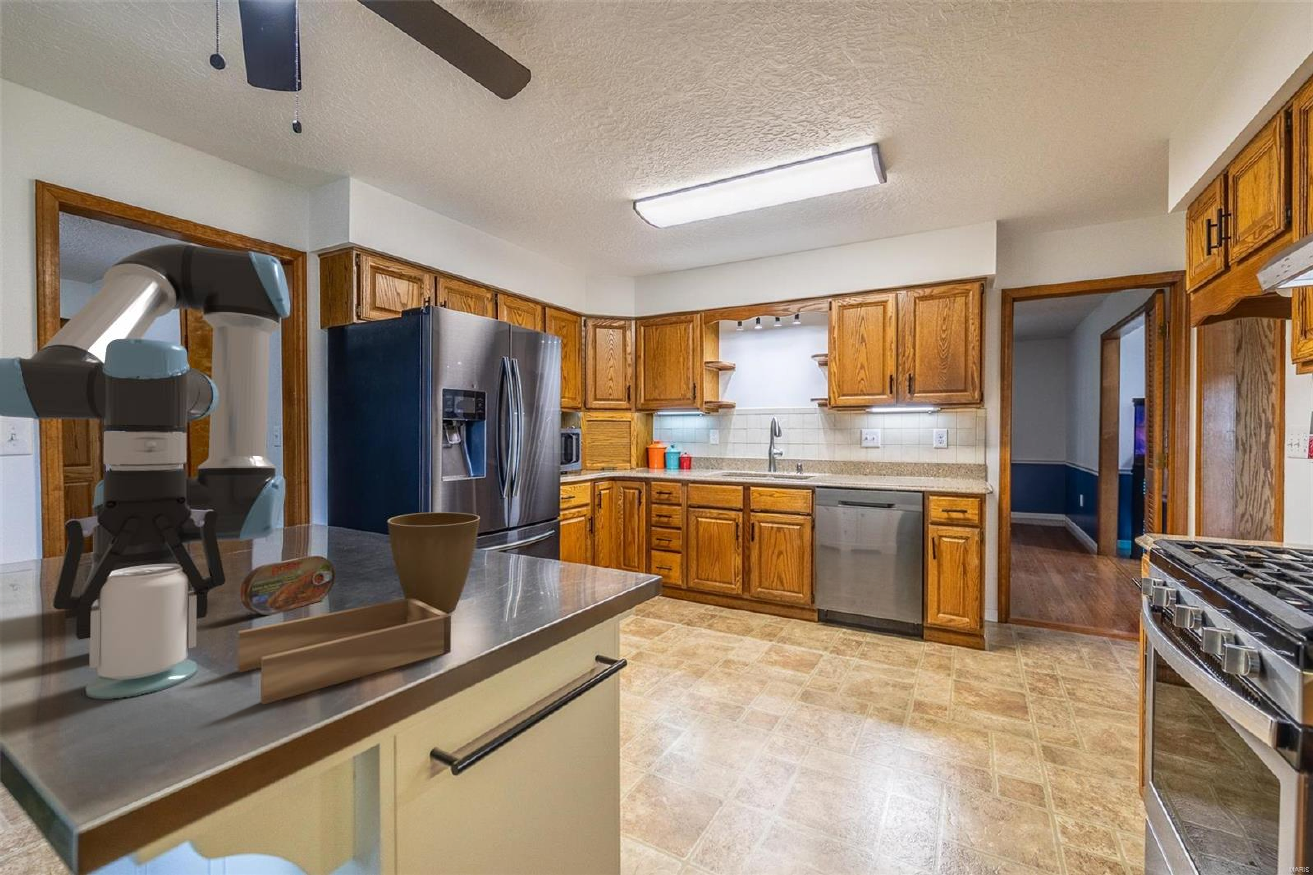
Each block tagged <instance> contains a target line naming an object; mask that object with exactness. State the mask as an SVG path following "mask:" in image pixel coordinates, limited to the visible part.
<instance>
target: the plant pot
mask: <svg viewBox="0 0 1313 875" xmlns="http://www.w3.org/2000/svg"><path fill="white" fill-rule="evenodd" d="M480 520H481V517H480V515H477V514H471V513H466V512H465V513H463V512H443V511H442V512H441V511H439V512H420V513H419V512H418V513H410V514H403V515H397V516H394V517H391V518H389V519H387V521H386V522H387V528H388V534H389V541H390V547H391V553H392V558H393V561H394V566H395V570H396V575H397V578H398V580H399V584H400V585H399V586H400V587H401V590H402V593H403V596H404V598H409V597H412V598H414V599H416V600H418V601H420V602H423V603H425V604H427V605H429V606H431V607H433V608H435V609H438V610H440V611H442V612H444V613H446V614H448V613H450V612H453V611H455V609H456V608H457V607H458V603H459V601H460V598H461V596H462V593H463V591H464V588H465V586H466V585H465V584H466V582H467V579H468V576H469V572H470V568H471V565H472V562H473V557H474V553H475V548H476V544H477V538H478V533H479V527H480Z"/></svg>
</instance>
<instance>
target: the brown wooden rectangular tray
mask: <svg viewBox="0 0 1313 875" xmlns="http://www.w3.org/2000/svg"><path fill="white" fill-rule="evenodd" d="M451 640H452V615H450V614H448V613H444V612H442V611H440V610H438V609H435V608H433V607H431V606H429V605H427V604H425V603H423V602H420V601H418V600H416V599H414V598H412V597H409V598H405V597H404V598H401V599H400V598H399V599H395V600H394V599H393V600H389V601H386V602H379V603H375V604H369V605H365V606H359V607H354V608H349V609H344V610H339V611H335V612H330V613H326V614H325V613H324V614H319V615H314V616H309V617H304V618H300V619H294V620H289V621H284V622H280V623H273V624H269V625H263V626H258V627H254V628H249V629H248V628H247V629H244V630H238V631H237V672H238V671H239V672H238V674H240V673H245V672H249V671H253V670H252V669H254V670H257V669H256V668H258V669H260V703H261V704H262V705H266V704H269V703H274V702H277V701H280V700H284V699H288V698H292V697H295V696H299V695H302V694H306V693H309V692H312V691H315V690H319V689H323V688H326V687H330V686H334V685H337V684H341V683H343V682H348V681H351V680H356V679H358V678H361V677H362V678H363V677H365V676H368V675H372V674H376V673H379V672H384V671H387V670H390V669H394V668H397V667H401V666H404V665H405V666H406V665H408V664H412V663H415V662H419V661H421V660H422V661H423V660H426V659H429V658H432V657H436V656H439V655H440V656H441V655H442V654H447V653H450V652H452V649H451V648H452V645H451V644H452V641H451ZM248 670H249V671H248ZM244 671H245V672H244Z"/></svg>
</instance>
